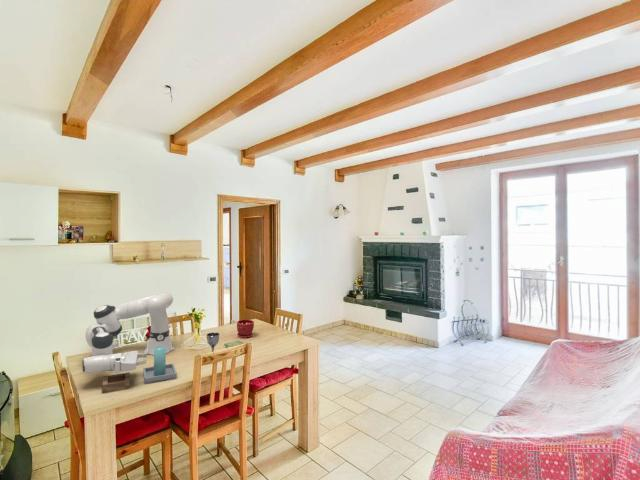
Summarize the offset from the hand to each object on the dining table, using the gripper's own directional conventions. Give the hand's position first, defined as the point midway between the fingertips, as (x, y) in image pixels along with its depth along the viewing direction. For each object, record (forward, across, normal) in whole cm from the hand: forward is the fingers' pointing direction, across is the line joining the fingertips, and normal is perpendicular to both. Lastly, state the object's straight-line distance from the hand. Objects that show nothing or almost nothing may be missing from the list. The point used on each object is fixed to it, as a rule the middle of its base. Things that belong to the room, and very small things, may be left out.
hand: (146, 358), depth 190 cm
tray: (+7, 0, -11) cm, 13 cm away
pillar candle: (+7, 0, -10) cm, 12 cm away
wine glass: (+39, -20, -11) cm, 45 cm away
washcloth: (+57, -31, -12) cm, 66 cm away
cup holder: (-14, +5, -11) cm, 19 cm away
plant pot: (+68, -55, -11) cm, 88 cm away
